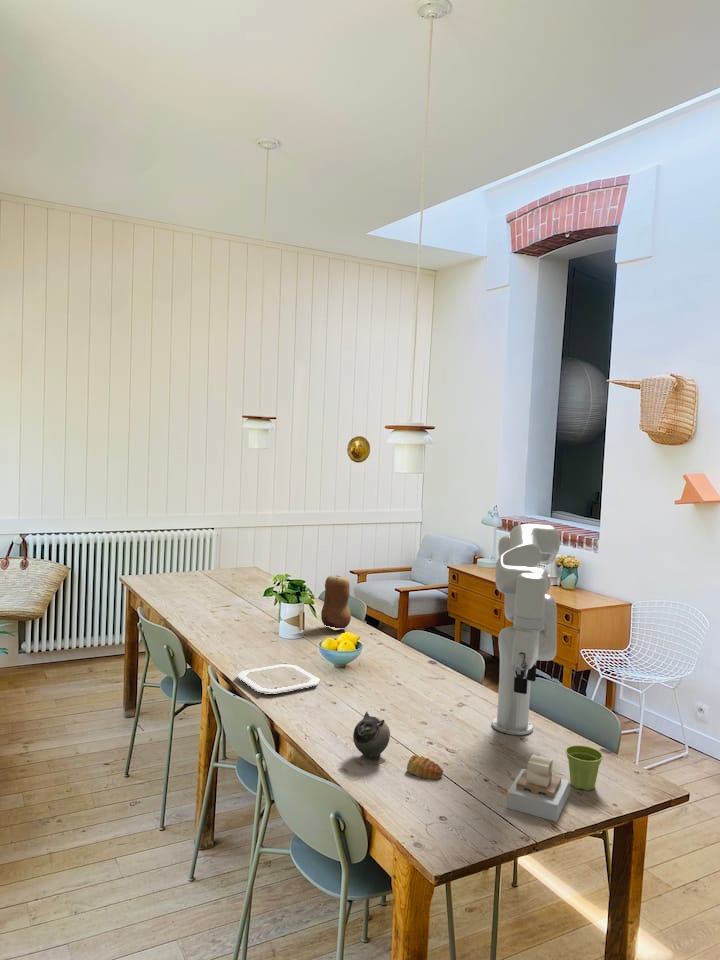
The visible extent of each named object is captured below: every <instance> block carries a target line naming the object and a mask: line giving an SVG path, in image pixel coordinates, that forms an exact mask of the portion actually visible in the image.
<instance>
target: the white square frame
mask: <svg viewBox="0 0 720 960" xmlns="http://www.w3.org/2000/svg"><path fill="white" fill-rule="evenodd" d="M279 667H287V668H292V669H294V670H296V671H298V673H300V674H302V675H303V676H305V677H307V678H308V679H309V681H308V682H307V683H303V684H298V685H293V686H288V687H282V688H277V689H267V688H262V687H260V686H259V685H257V684H256V683H254V682H253V681H251V680H250V679H248V678H247V677H246V675H247V674H248V673H249V672H255V671H261V670H267V669H273V668H279ZM236 676H237V677H238V678H239V679H241V680H242V681H243V682H245V683H246V684H247V685H246V684H245V683H244V684H245V685H246V686H248V687H249V686H250V687H251V689H252V690H253V689H254V690H253V691H254V692H256V691H257V692H256V693H258V692H260V693H259V694H261V693H271V694H273V693H278V692H284V691H289V690H295V689H301V688H306V687H311V688H313V687H316V686H318V684H319V683H320V681H321V679H320V678H319V677H317V676H315V675H313V674H312V673H310V672H308V671H307V670H305V669H303V668H302V667H300V666H298V665H296V664H288V663H287V664H286V663H281V664H275V665H274V664H273V665H269V666H264V667H256V668H251V669H247V670H246V669H245V670H241V671H240V672H238V673H237V674H236ZM238 678H237V679H238ZM239 679H238V680H239ZM241 680H240V681H241ZM242 681H241V682H242ZM243 682H242V683H243ZM312 686H313V687H312ZM250 687H249V688H250Z"/></svg>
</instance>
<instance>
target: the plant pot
mask: <svg viewBox="0 0 720 960" xmlns="http://www.w3.org/2000/svg"><path fill="white" fill-rule="evenodd" d="M564 751H565V754H566V757H567V760H568V768H569V769H568V770H569V783H570V785H571V786H572V787H573V788H576V789H578V790H579V789H582V790H583V791H591V790H594V789H595V787H596V783H597V777H598V773H599V767H600V765H601V762H602V760H603V759H604V754H603V752H601V751H600V750H599V749H596V748H594V747H591V746H586V745H579V744H576V745H575V744H574V745H569V746H567V747H566V748H565V750H564Z"/></svg>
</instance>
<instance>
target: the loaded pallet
mask: <svg viewBox="0 0 720 960" xmlns="http://www.w3.org/2000/svg"><path fill="white" fill-rule="evenodd" d="M553 761H554V760H553V758H549V757H545V756H540V755H537V754H536V755H535V754H532V755H531V756H530V758H529V760H528V761H527V768H524V769H525V770H524V772H523V774H522V775H521V777H520V778H519V780H518V782H517V783H516V789H519V790H523V791H524V789H525V788H527V789H531V793H534V794H539V792H542V793H546V797H549V798H554V796H555V794H556V792H557V790H558V788H559V786H560V784H561V779H562V777H561V776H556V775H553Z"/></svg>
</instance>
